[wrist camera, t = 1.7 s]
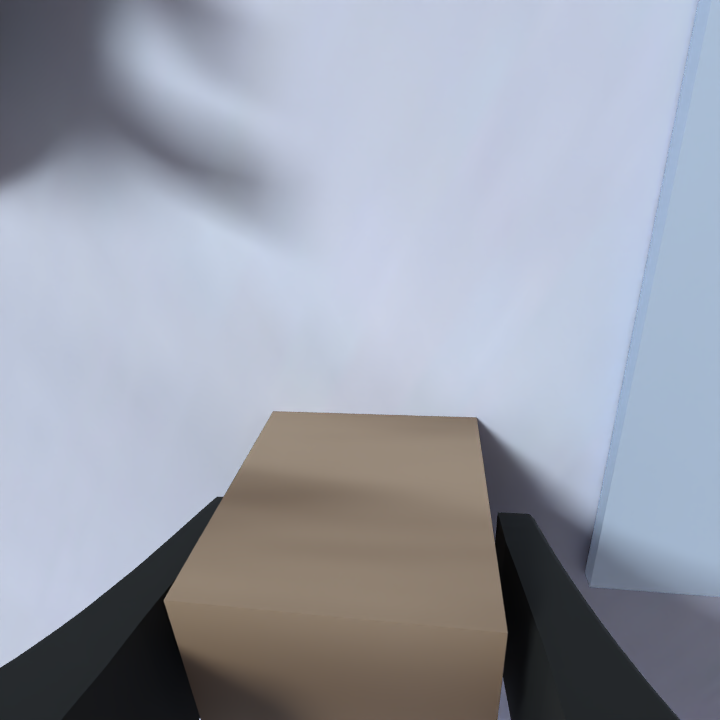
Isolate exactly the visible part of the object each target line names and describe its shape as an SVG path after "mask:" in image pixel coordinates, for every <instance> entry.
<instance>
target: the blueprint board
mask: <svg viewBox="0 0 720 720" xmlns="http://www.w3.org/2000/svg"><path fill="white" fill-rule="evenodd" d="M585 575H586V578H587V581H588V584H589V587H592V588H606V589H619V590H632V591H645V592H658V593H672V594H685V595H698V596H711V597H720V0H699V1H698V6H697V11H696V16H695V21H694V26H693V32H692V37H691V42H690V47H689V52H688V57H687V62H686V67H685V72H684V77H683V82H682V87H681V92H680V97H679V102H678V107H677V112H676V117H675V122H674V127H673V132H672V137H671V142H670V147H669V152H668V157H667V162H666V167H665V172H664V177H663V183H662V188H661V193H660V198H659V203H658V208H657V213H656V218H655V223H654V228H653V233H652V238H651V243H650V248H649V253H648V258H647V263H646V268H645V273H644V278H643V283H642V288H641V293H640V298H639V303H638V308H637V313H636V318H635V323H634V329H633V334H632V339H631V344H630V349H629V354H628V359H627V364H626V369H625V374H624V379H623V384H622V389H621V394H620V399H619V404H618V409H617V414H616V419H615V424H614V429H613V434H612V439H611V444H610V449H609V454H608V459H607V464H606V469H605V474H604V480H603V485H602V490H601V495H600V500H599V505H598V510H597V515H596V520H595V525H594V530H593V535H592V540H591V545H590V550H589V555H588V560H587V565H586V570H585Z"/></svg>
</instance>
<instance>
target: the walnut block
mask: <svg viewBox="0 0 720 720" xmlns="http://www.w3.org/2000/svg"><path fill="white" fill-rule="evenodd" d="M164 603H165V606H166V610H167V613H168V616H169V619H170V622H171V626H172V629H173V632H174V635H175V638H176V642H177V645H178V648H179V651H180V654H181V658H182V661H183V664H184V667H185V670H186V674H187V677H188V680H189V683H190V686H191V690H192V693H193V696H194V699H195V702H196V706H197V709H198V712H199V715H200V718H201V720H497V719H498V710H499V702H500V693H501V685H502V677H503V668H504V660H505V652H506V643H507V635H508V632H507V625H506V618H505V611H504V604H503V597H502V590H501V583H500V576H499V569H498V562H497V555H496V548H495V541H494V534H493V527H492V520H491V513H490V506H489V499H488V493H487V486H486V479H485V472H484V465H483V458H482V451H481V444H480V437H479V430H478V423H477V418H474V417H441V416H408V415H376V414H343V413H311V412H278V411H273V413H272V414H271V416H270V418H269V419H268V421H267V423H266V425H265V426H264V428H263V430H262V432H261V433H260V435H259V437H258V438H257V440H256V442H255V444H254V445H253V447H252V449H251V450H250V452H249V454H248V456H247V457H246V459H245V461H244V463H243V464H242V466H241V468H240V469H239V471H238V473H237V475H236V476H235V478H234V480H233V481H232V483H231V485H230V487H229V488H228V490H227V492H226V494H225V495H224V497H223V499H222V500H221V502H220V504H219V506H218V507H217V509H216V511H215V512H214V514H213V516H212V518H211V519H210V521H209V523H208V525H207V526H206V528H205V530H204V531H203V533H202V535H201V537H200V538H199V540H198V542H197V544H196V545H195V547H194V549H193V550H192V552H191V554H190V556H189V557H188V559H187V561H186V562H185V564H184V566H183V568H182V569H181V571H180V573H179V575H178V576H177V578H176V580H175V581H174V583H173V585H172V587H171V588H170V590H169V592H168V593H167V595H166V597H165V599H164Z"/></svg>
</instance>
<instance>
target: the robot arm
mask: <svg viewBox="0 0 720 720" xmlns="http://www.w3.org/2000/svg"><path fill="white" fill-rule="evenodd" d="M222 499H223V497H216V498H215V499H214V500H213V501H212V502H210V503H209V504H208V505H207V506H206V507H205V508H203V509H202V510H201V511H200V512H199V513H198V514H197V515H196V516H195V517H193V518H192V519H191V520H190V521H189V522H188V523H187V524H186V525H185V526H183V527H182V528H181V529H180V530H179V531H178V532H177V533H176V534H174V535H173V536H172V537H171V538H170V539H169V540H168V541H167V542H165V543H164V544H163V545H162V546H161V547H160V548H158V549H157V550H156V551H155V552H154V553H153V554H152V555H150V556H149V557H148V558H147V559H146V560H145V561H143V562H142V563H141V564H140V565H139V566H138V567H137V568H135V569H134V570H133V571H132V572H130V573H129V574H128V575H127V576H125V577H124V578H123V579H122V580H120V581H119V582H118V583H117V584H115V585H114V586H113V587H112V588H111V589H109V590H108V591H107V592H106V593H104V594H103V595H102V596H101V597H99V598H98V599H97V600H96V601H94V602H93V603H92V604H91V605H89V606H88V607H87V608H85V609H84V610H83V611H82V612H80V613H79V614H78V615H76V616H75V617H74V618H72V619H71V620H69V621H68V622H67V623H65V624H64V625H63V626H61V627H60V628H59V629H57V630H56V631H54V632H53V633H51V634H50V635H48V636H47V637H46V638H44V639H43V640H41V641H40V642H38V643H37V644H36V645H34V646H33V647H31V648H30V649H28V650H27V651H25V652H24V653H23V654H21V655H20V656H18V657H17V658H15V659H13V660H12V661H10V662H9V663H7V664H6V665H4V666H2V667H1V668H0V720H199V718H200V715H199V712H198V709H197V706H196V702H195V699H194V696H193V693H192V690H191V686H190V683H189V680H188V677H187V674H186V670H185V667H184V664H183V661H182V658H181V654H180V651H179V648H178V645H177V642H176V638H175V635H174V632H173V629H172V626H171V622H170V619H169V616H168V613H167V610H166V606H165V603H164V599H165V597H166V595H167V593H168V592H169V590H170V588H171V587H172V585H173V583H174V581H175V580H176V578H177V576H178V575H179V573H180V571H181V569H182V568H183V566H184V564H185V562H186V561H187V559H188V557H189V556H190V554H191V552H192V550H193V549H194V547H195V545H196V544H197V542H198V540H199V538H200V537H201V535H202V533H203V531H204V530H205V528H206V526H207V525H208V523H209V521H210V519H211V518H212V516H213V514H214V512H215V511H216V509H217V507H218V506H219V504H220V502H221V500H222ZM495 548H496V555H497V562H498V569H499V576H500V583H501V590H502V597H503V604H504V611H505V618H506V625H507V632H508V635H507V643H506V652H505V660H504V668H503V679H504V684H505V690H506V695H507V700H508V706H509V711H510V716H511V720H680V719H679V718H678V717H677V716H676V715H675V714H674V712H673V711H672V710H671V709H670V708H669V707H668V705H667V704H666V703H665V702H664V701H663V700H662V699H661V697H660V696H659V695H658V694H657V693H656V691H655V690H654V689H653V688H652V687H651V685H650V684H649V683H648V682H647V681H646V679H645V678H644V677H643V676H642V674H641V673H640V672H639V671H638V670H637V668H636V667H635V666H634V665H633V663H632V662H631V661H630V659H629V658H628V657H627V656H626V654H625V653H624V652H623V650H622V649H621V648H620V647H619V645H618V644H617V643H616V641H615V640H614V639H613V638H612V636H611V635H610V634H609V632H608V631H607V629H606V628H605V627H604V625H603V624H602V623H601V621H600V620H599V619H598V617H597V616H596V614H595V613H594V612H593V610H592V609H591V607H590V606H589V605H588V603H587V602H586V600H585V599H584V597H583V596H582V595H581V593H580V592H579V590H578V589H577V587H576V586H575V584H574V583H573V581H572V580H571V579H570V577H569V576H568V574H567V572H566V571H565V569H564V568H563V566H562V565H561V563H560V562H559V560H558V558H557V557H556V555H555V554H554V552H553V550H552V549H551V547H550V546H549V544H548V542H547V540H546V539H545V537H544V535H543V534H542V532H541V530H540V528H539V527H538V525H537V523H536V521H535V519H534V518H533V517H532V516H531V515H530V514H517V513H499V512H498V516H497V527H496V538H495Z"/></svg>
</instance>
